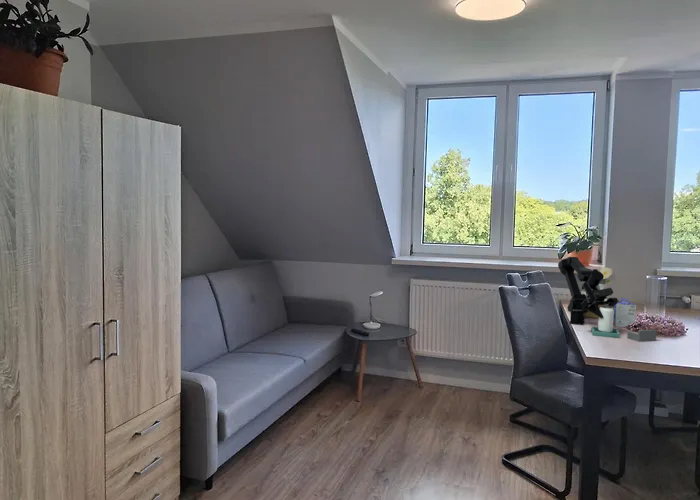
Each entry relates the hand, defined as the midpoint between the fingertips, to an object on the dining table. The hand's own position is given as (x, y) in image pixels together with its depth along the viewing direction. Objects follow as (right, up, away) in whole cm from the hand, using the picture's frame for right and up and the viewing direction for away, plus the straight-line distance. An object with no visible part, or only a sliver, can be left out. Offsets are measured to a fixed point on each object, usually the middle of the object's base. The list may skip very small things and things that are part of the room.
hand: (608, 317), depth 262 cm
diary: (+19, -5, +49) cm, 53 cm away
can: (0, -7, +2) cm, 7 cm away
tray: (-1, -8, +2) cm, 9 cm away
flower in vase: (+34, -3, +78) cm, 85 cm away
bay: (+13, -9, -7) cm, 17 cm away
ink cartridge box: (+18, -7, +21) cm, 29 cm away
